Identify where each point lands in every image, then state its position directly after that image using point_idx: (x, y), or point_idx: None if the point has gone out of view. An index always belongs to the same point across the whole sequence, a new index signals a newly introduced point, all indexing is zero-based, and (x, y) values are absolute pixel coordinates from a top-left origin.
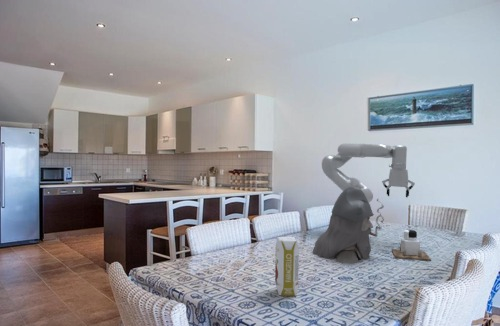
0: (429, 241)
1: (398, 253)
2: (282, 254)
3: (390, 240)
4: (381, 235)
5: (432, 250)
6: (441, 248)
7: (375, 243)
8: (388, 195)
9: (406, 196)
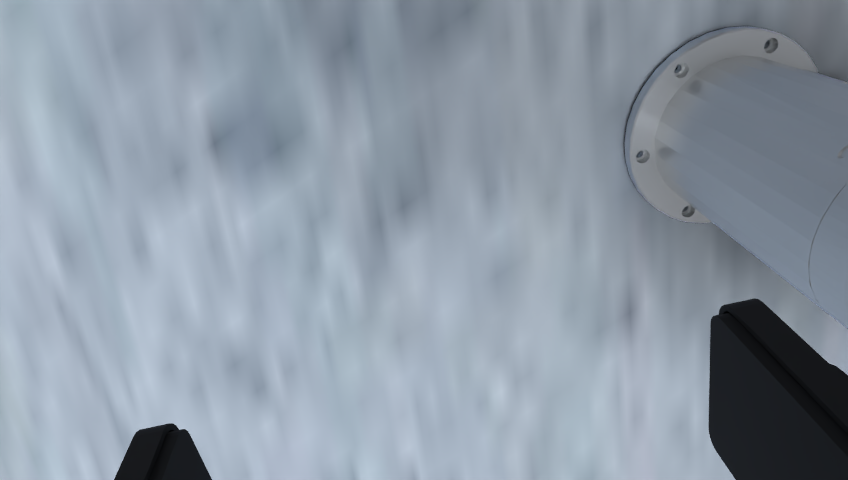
0: None
1: None
2: None
3: (462, 288)
4: (549, 426)
5: (49, 88)
6: (13, 228)
7: (572, 78)
8: (749, 309)
9: (168, 441)
